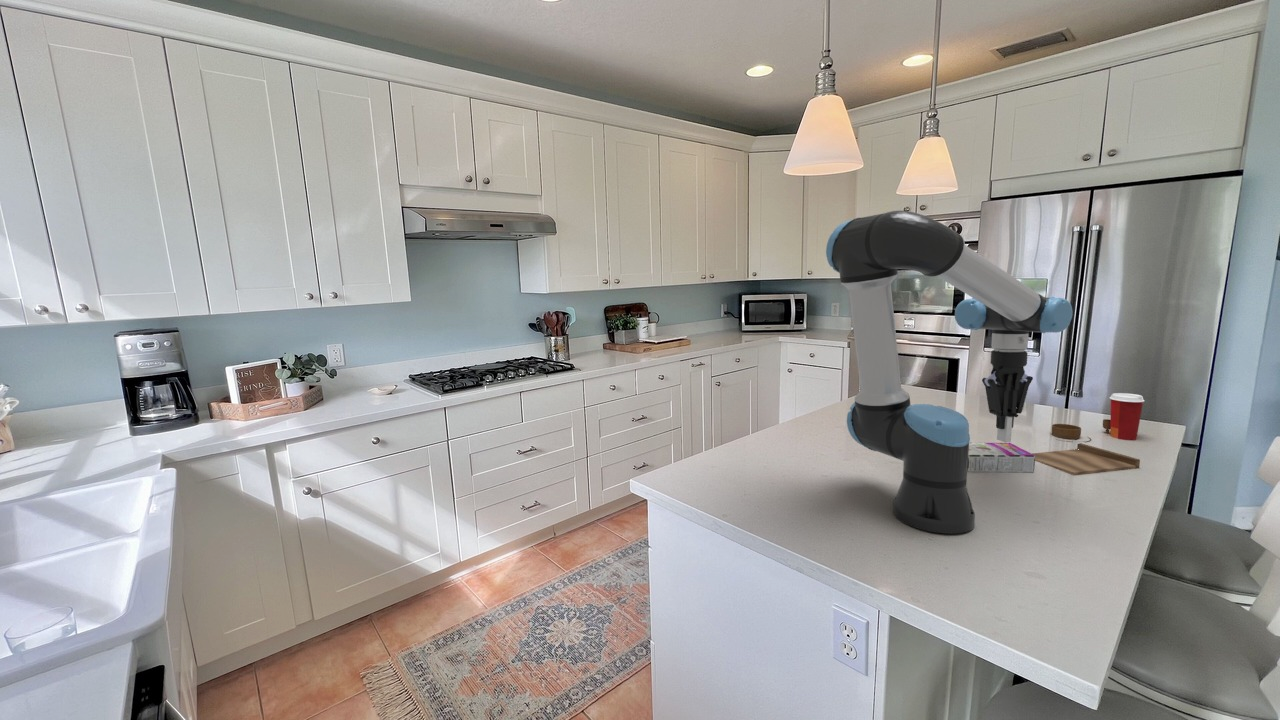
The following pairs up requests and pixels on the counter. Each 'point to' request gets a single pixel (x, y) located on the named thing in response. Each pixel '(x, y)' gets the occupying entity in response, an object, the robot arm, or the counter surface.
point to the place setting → (1074, 430)
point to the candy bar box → (999, 458)
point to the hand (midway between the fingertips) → (1003, 440)
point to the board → (1086, 460)
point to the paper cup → (1125, 415)
